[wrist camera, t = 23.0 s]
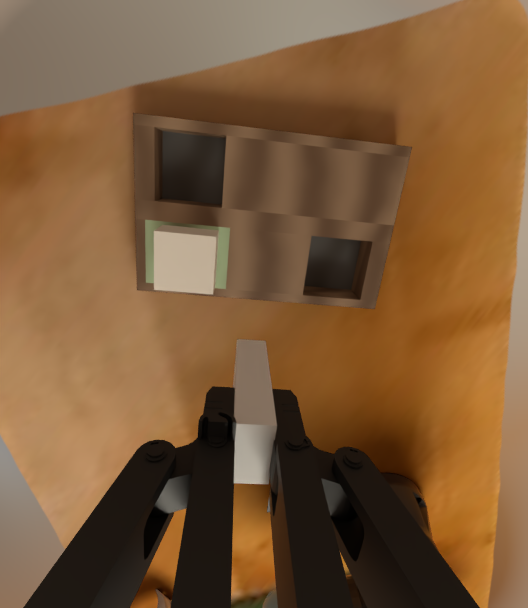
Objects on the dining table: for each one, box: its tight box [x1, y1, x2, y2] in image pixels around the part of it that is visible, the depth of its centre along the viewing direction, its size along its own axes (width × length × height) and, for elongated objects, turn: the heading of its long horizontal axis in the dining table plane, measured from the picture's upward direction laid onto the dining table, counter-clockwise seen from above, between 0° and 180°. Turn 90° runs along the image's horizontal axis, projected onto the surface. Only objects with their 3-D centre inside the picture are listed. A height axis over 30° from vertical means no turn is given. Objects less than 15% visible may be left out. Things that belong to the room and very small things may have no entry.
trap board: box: [133, 113, 412, 309], centre depth 40 cm, size 28×18×4 cm, turn 84°
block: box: [154, 225, 219, 295], centre depth 37 cm, size 6×6×4 cm
